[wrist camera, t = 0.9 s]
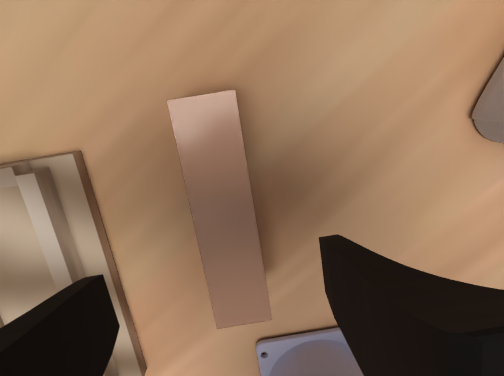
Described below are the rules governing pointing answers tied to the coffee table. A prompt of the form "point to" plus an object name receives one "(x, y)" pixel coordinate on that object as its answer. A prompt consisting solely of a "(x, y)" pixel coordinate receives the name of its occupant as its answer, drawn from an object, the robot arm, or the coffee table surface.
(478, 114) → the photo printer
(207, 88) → the coffee table surface
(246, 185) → the clay strip
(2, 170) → the framed rectangular tray
